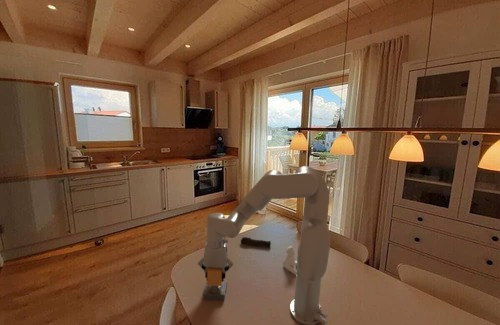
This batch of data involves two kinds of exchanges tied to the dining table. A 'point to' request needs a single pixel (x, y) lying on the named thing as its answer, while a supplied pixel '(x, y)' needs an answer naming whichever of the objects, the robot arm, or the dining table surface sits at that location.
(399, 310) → the dining table surface
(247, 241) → the hand tool
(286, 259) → the seated beast figurine
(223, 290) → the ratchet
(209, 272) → the orange cube
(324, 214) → the robot arm
